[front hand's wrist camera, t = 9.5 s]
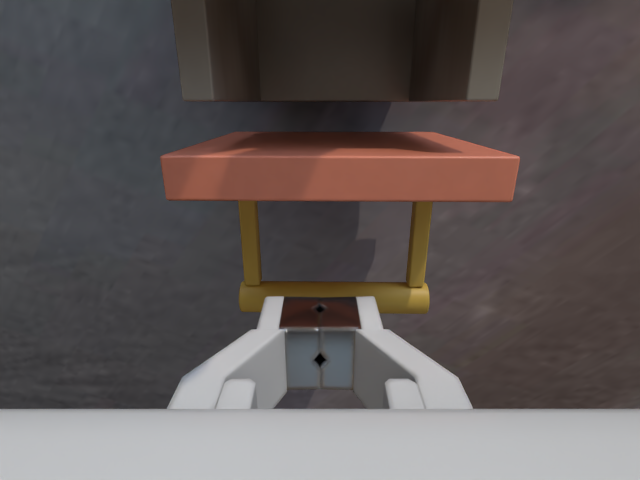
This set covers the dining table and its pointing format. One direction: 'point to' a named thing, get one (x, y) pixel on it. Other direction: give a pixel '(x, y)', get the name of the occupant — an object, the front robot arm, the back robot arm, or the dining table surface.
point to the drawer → (340, 147)
